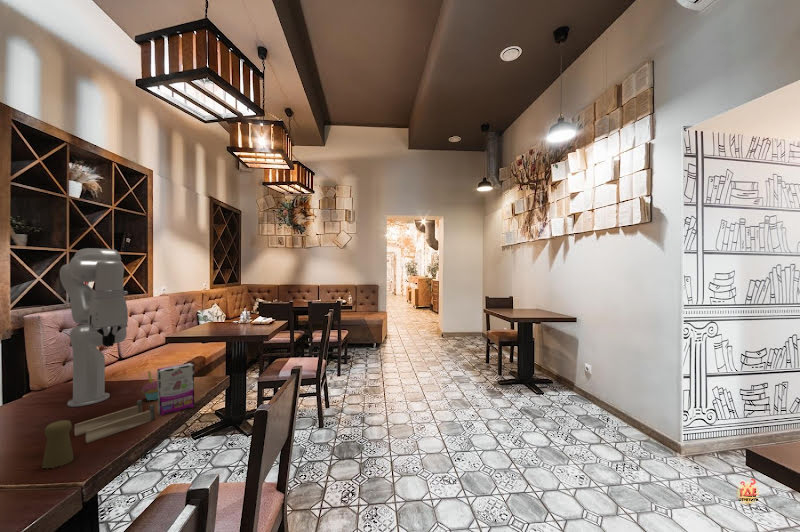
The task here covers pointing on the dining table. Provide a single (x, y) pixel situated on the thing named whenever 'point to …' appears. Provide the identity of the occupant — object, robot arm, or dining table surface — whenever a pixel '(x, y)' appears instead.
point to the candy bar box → (175, 388)
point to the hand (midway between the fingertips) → (108, 345)
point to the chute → (114, 422)
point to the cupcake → (151, 389)
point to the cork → (58, 444)
